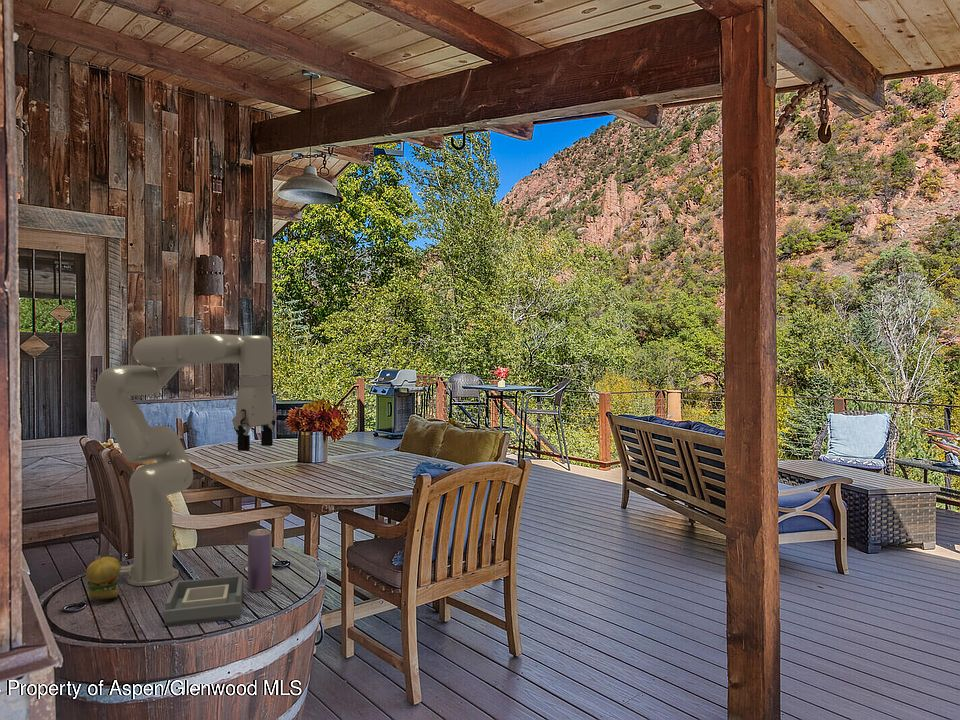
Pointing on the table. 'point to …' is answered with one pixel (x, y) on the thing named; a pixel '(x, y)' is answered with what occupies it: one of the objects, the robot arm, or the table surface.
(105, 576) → the hamburger
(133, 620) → the table surface
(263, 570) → the beverage can
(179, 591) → the box
